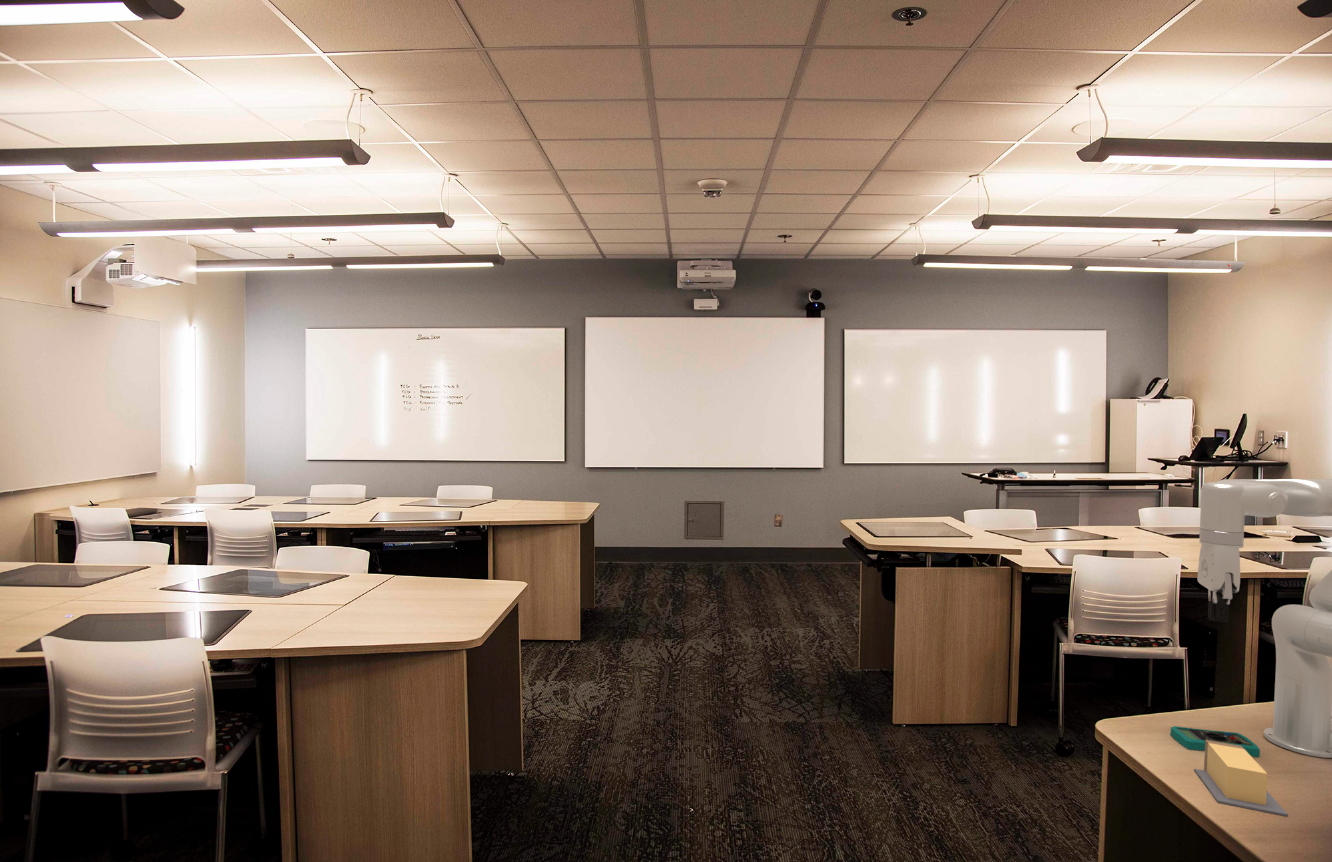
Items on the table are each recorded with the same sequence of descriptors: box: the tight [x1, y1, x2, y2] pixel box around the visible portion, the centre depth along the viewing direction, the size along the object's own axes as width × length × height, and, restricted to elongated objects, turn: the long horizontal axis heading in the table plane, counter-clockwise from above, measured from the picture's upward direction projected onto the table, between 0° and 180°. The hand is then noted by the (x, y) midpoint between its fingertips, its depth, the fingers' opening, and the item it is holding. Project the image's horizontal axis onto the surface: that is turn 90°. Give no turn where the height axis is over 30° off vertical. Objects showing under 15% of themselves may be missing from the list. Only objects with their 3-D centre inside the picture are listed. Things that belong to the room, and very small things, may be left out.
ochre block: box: [1203, 740, 1268, 805], centre depth 133 cm, size 6×6×12 cm
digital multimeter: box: [1169, 725, 1261, 758], centre depth 151 cm, size 7×15×3 cm, turn 79°
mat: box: [1193, 768, 1289, 818], centre depth 132 cm, size 10×13×1 cm
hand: (1218, 620), depth 149 cm, fingers closed
